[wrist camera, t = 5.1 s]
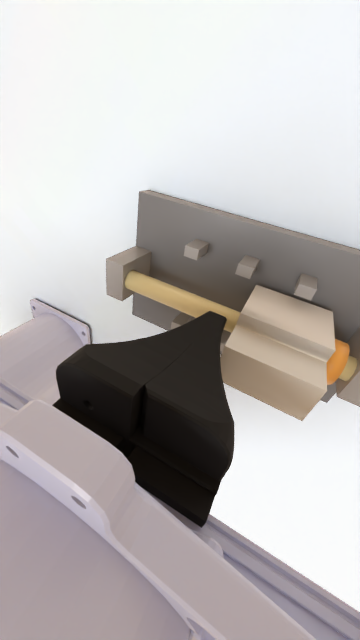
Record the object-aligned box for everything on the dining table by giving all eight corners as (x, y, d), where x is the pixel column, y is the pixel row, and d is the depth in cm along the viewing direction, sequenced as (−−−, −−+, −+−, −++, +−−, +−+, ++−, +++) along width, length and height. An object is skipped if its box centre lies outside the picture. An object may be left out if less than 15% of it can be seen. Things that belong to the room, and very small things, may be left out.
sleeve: (302, 358, 14) (294, 429, 11) (237, 331, 15) (209, 387, 12) (332, 311, 12) (337, 378, 8) (256, 284, 13) (229, 333, 10)
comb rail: (326, 391, 16) (327, 447, 13) (139, 308, 21) (104, 335, 17) (429, 269, 11) (472, 313, 8) (148, 190, 15) (100, 197, 12)
